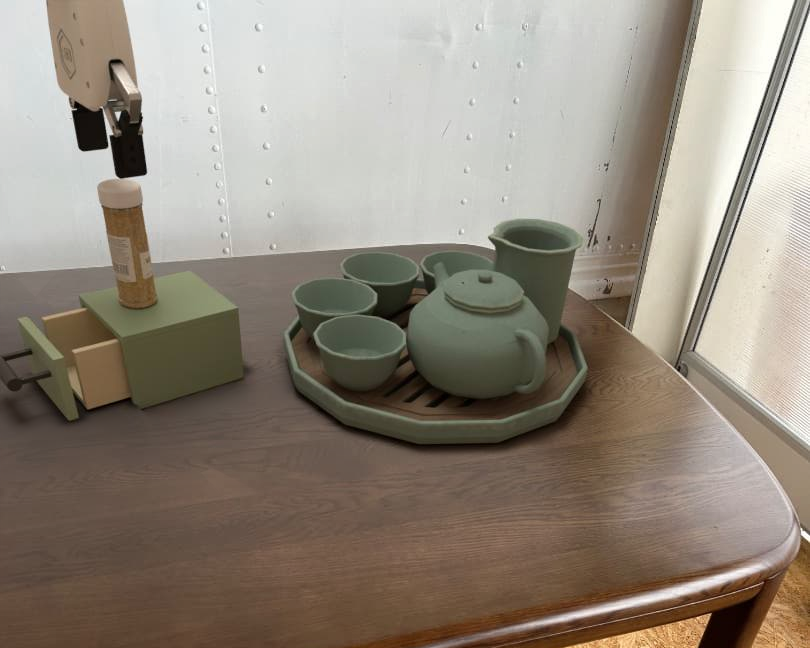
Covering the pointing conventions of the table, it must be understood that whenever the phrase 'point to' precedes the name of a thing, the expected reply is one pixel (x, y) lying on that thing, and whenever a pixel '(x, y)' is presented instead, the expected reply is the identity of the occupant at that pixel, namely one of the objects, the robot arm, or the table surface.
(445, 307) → the tea set
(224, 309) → the cabinet
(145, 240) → the sprinkles bottle
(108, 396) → the drawer
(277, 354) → the table surface
